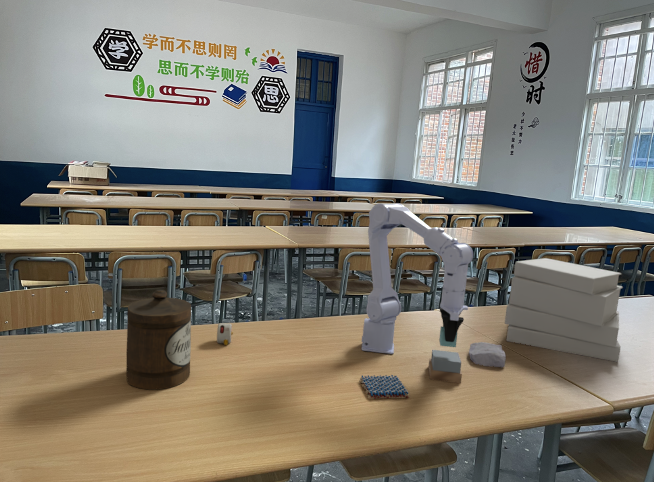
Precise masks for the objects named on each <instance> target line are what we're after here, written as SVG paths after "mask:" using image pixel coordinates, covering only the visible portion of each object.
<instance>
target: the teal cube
mask: <svg viewBox="0 0 654 482" xmlns="http://www.w3.org/2000/svg"><path fill="white" fill-rule="evenodd" d="M439 331H440V332H439V337H438V338H439V339H438V340H439V345H440V347H450V348H457V341H458V333H457V334H456V337H455V340H454V342H447V341H445V331H444V327H443V325H442V326H440V330H439Z"/></svg>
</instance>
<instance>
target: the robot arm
mask: <svg viewBox="0 0 654 482" xmlns="http://www.w3.org/2000/svg"><path fill="white" fill-rule="evenodd" d="M368 216H369V218H368V219H369V224H368V230H367V233H368V243H369V244H368V246H369V256H370V265H371V266H370V267H371V276H372V277H371V278H372V287H373V289H372V290H371V292H370V293H369V294H368V296H367V305H366V315H367V317H368V318H367V317H366V318H364V321H363V327H362V328H363V329H362V336H361V351H364V352H373V353H380V354H381V353H382V354H388V355H389V354H390V355H393V354H394V353H395V344H394V337H395V323H396V320H397V317H398V316H400V314H401V312H402V305H401V302H400V299H399V297H398V292H397V291H396V290H395V289H394V288H392V287H393V286H392V277H391V264H390V256H389V246H388V235H389V234H390V233H391V231H392V230H394V229H395V228H397V227H398V226H400V225H402V226H404V227H406V228H408V229H409V230H411V231H412V232H414V233H415V234H416V235H418V236H420V237H421V238H423V244H424V245H425V246H426V247H427V248H429V249H430V250H432V251H433V252H434V253H436V254H437V255H439V256H440V257H441V260H442V263H443V264H444V265H443V266H444V267H443V268H444V269H443V270H444V275H443V284H442V292H441V293H442V294H441V302H440V304H439V307H440V308H439V312H440V316H441V320H442V327H444V331H445V341H447V342H454V340H455V337H456V334H457V335H458V332H459V329H460V328H461V325H462V324H463V323H464V321H465V319H464V317H460V316H461V314H462V312H464V311H468V310H469V307H468V305H465V295H466V286H467V277H468V268H469V264H470V263H471V262H472V261H473V259H474V251H473V248H472V247H471V246H470V245H469V243H466V242H459V239H457V238H456V237H455V238H453V237H452V236H451V235H449V234H447V233H446V231H445V230H446V229H444V228H443V227H431V226H429V225H428V224H427V223H425V222H424V221H423V220H422V219H420V218H419V217H418V216H417V215H415V214H414V213H413V212H412V211H410V209H409V208H408V207H407V206H405V205H403V204H402V203H399V202H396V203H382V202H381V203H375V204H374V205H373V207H372V208H371V209H370V210H369V212H368Z"/></svg>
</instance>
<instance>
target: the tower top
mask: <svg viewBox="0 0 654 482" xmlns="http://www.w3.org/2000/svg"><path fill="white" fill-rule="evenodd" d="M430 359H431V362H432V368H433V370H436V371H444V372H453V373H460V370H461V371H462V369H461V368H462V360H461V357H460V354H459V352H456V351H449V350H448V351H447V350H440V349H432V351H431V358H430Z"/></svg>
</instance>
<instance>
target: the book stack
mask: <svg viewBox="0 0 654 482" xmlns="http://www.w3.org/2000/svg"><path fill="white" fill-rule="evenodd" d="M513 274H514V275H513V276H512V278H511V285H510V292H509V300H508V304H507V305H506V309H505V319H504V324H505V325H508V327H507V332H506V333H507V334H506V341H507V342H511V343H514V342H515V344H520V343H521V345H525V344H526V345H527V346H530V345H531V346H532V347H536V348H543V349H547V350H552V351H559V352H563V353H566V354H567V353H569V354H574V355H579V356H583V357H588V358H589V357H590V358H593V359H594V358H595V359H601V360H604V361H611V362H616V363H618V362H619V359H620V354H621V353H620V352H621V345H620V343H619V341H618V337H619V336H618V335H619V330H620V312H619V311H618V306H619V299H620V292H621V289H623V288H624V287H623V286H622V285H618V284H619V283H618V282H619V276H620V275H622V273H621V272H618V271H612V270H607V269H601V268H596V267H592V266H588V265H587V266H586V265H584V264H583V265H581V264H577V263H572V262H567V261H562V260H558V259H551V258H544V257H543V258H535V259H526V260H518V261H515V265H514V273H513Z"/></svg>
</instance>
